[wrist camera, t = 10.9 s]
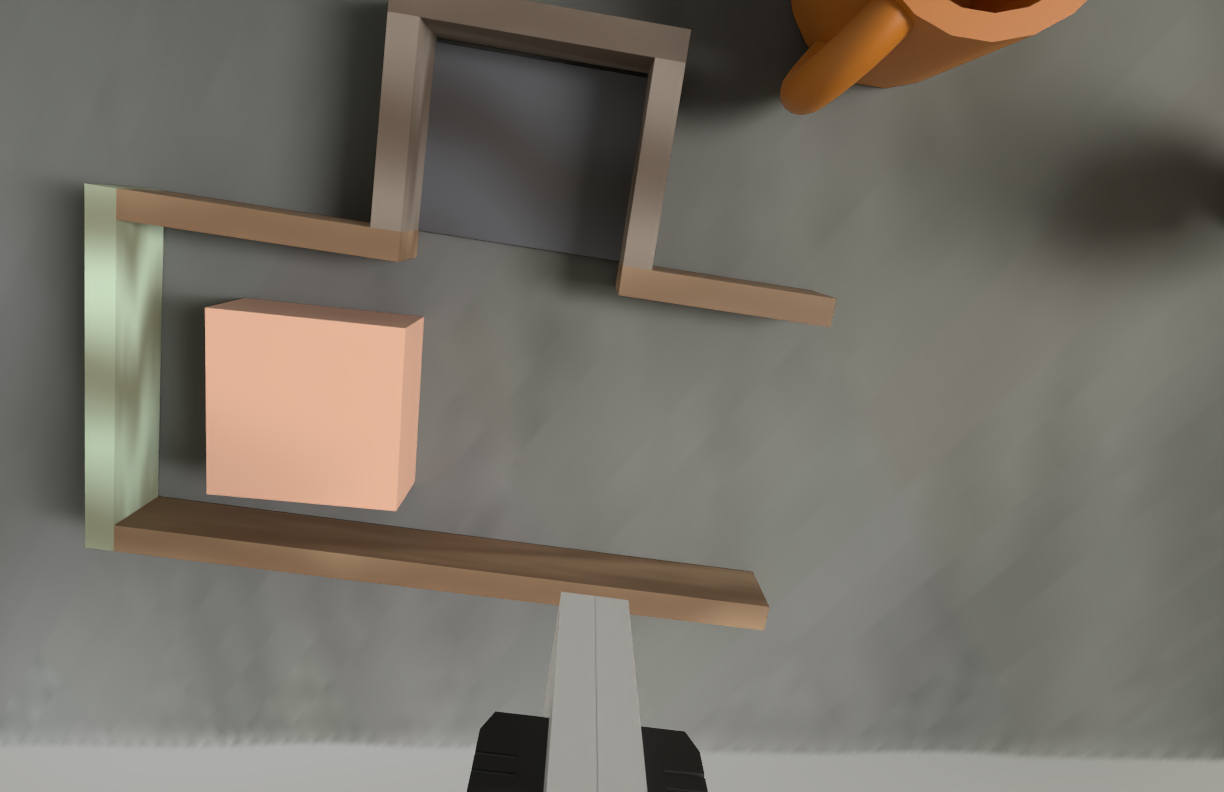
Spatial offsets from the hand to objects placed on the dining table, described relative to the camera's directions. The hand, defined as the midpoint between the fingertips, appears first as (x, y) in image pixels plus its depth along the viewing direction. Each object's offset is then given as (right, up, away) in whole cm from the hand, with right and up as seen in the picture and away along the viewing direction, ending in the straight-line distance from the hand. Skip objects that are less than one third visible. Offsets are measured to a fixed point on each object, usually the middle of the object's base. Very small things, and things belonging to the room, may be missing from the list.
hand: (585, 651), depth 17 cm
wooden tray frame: (-6, +10, +18) cm, 21 cm away
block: (-12, +6, +19) cm, 23 cm away
